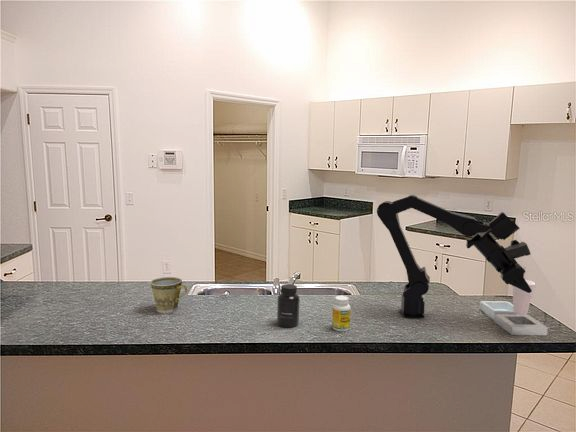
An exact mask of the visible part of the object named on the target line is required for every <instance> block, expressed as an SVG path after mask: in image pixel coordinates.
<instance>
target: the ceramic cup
mask: <svg viewBox="0 0 576 432" xmlns="http://www.w3.org/2000/svg"><path fill="white" fill-rule="evenodd" d="M150 288H151V292H152V295H153V297H154V298H153V299H154V302H155V308H156V312H157V313H159V314H163V315H164V314H172V313H175V312H176V310H177V311H178V307H179V300H180V299H181V298H182V297H183V296H185V294H186V293H187V289H188V287H187V286H186V285H185V284H183V279H182V278H179V277H175V276H164V277H163V276H162V277H157V278H154V279H152V280H150ZM182 288H184V290H185V291H184V293H182V294H181V290H182ZM180 294H181V295H180Z"/></svg>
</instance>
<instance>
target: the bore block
mask: <svg viewBox="0 0 576 432" xmlns="http://www.w3.org/2000/svg"><path fill="white" fill-rule="evenodd" d="M493 322H494V323H495V324H497V325H498V326H499V327H501V328H502V329H503V330H504V331H505V332H507V333H508V334H509V335H511V336H547V335H548V329H549V328H548V326H546V325H545V324H543V323H542V322H540V321H538V320H537V319H536V318H533V317H532V316H531V315H529V314H528V313H527V314H526V315H521V314H495V316H494V320H493Z"/></svg>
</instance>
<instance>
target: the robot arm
mask: <svg viewBox="0 0 576 432" xmlns="http://www.w3.org/2000/svg"><path fill="white" fill-rule="evenodd" d="M410 209H413V210H416V211H418V212H420V213H423V214H426V215H427V216H429V217H432V218H433V219H436V220H438V221H440V222H443V223H445V224H447V225H448V226H450V227H451V228H452V229H454V230H455V231H456V232H458V233H460V234H461V235H462V236H464V237H467V238H466V239H465V240H466V244H465V246H466V249H470V248H471V247H473V246H474V247H475V249H476V250H477V251H479V253H480V254H481V255H482V256H483V257H484V258H485V260H486V261H487V262H488V263H490V264H491V266H492V267H494V269H495V270H496V272H498V273H500V276H499V277H500V279H502V281H503V282H504V283H505V284H506V285H511V286H515V287H517V288H519V289H521V290H523V291H525V292H527V293H530V292H532V290H531V288H530V287H529V285H528V284H527V282H526V280H527V279H526V278H525V279H524V277H523V276H524V273H525V274H526V270H524V267H523V266H522V265H520V264H519V263H518V261H517V260H516V259H518V258H521V257H522V258H523V257H525V256H526V257H528V256H530V255H531V254H532V253H531V251H530V248H529V246H528V244H527V243H526V242H524V241H520V242H519V241H518V240H517V239H514V240H511V241H510V245H508V246H507V247H504V246H503V245H500V243H498V241H500V240H503V241H505V240H506V239H508V238H509V237H511V236H512V235H513V234H514V233H516V232H517V231H519V230H520V229H521V228H520V227H519V226H518V225H517V223H515V221H514V220H512V219H511V218H510V217H508V215H507V214H506V213H505V212H503V211H502V212H500V213H499V214H498V215H497V216H496V217H495V218H493V219H492V220H491V221H489V222H485V221H481V220H477V219H476V218H475V217H473V216H471V215H467V214H463V213H459V212H454V211H451V210H448V209H446V208H443V207H441V206H439V205H437V204H434V203H433V202H429V201H427V200H425V199H422V198H421V197H419V196H417V195H415V194H410V195H408V196H405V197H403V198H399V199H398V200H397V199H396V200H394V201H390V200H385V201H383V202H381V203H380V204H379V205H378V207H377V209H376V214H377V217H378V218H379V219H380V222H381V223H382V224H383V225H384V226H385V228H386V229H387V230H388V232H389V234H390V236H391V238H392V241H393V243H394V245H395V248H396V250H397V252H398V255H399V257H400V259H401V261H402V263H403V265H404V268H405V271H406V275H407V281H408V283H407V284H405V285H404V287H403V291H402V294H401V305H400V306H401V308H400V309H399V312H400V314H402V316H403V317H404V318H410V319H411V318H413V319H415V318H420V319H421V318H422V319H423V318H425V315H424V314H425V305H426V304H425V303H426V302H425V301H424V297H423V296H424V295H426V294H427V293H428V292H429V289H430V288H429V287H430V282H431V281H430V279H431V278H430V276H429V275H428V273H427V270H426V266H423V267H420V265H419V264H418V262H417V260H416V258H415V255H414V254H413V252H412V249H411V247H410V245H409V243H408V241H407V238H406V236H405V234H404V233H405V232H404V231H403V228H402V226H401V224H400V217H399V213H402V212H405V211H407V210H410ZM490 233H491V234H492V235H493V236H494V237H493V236H492V235H491V234H490ZM470 237H471V238H470ZM495 238H496V239H497V240H498V241H497V240H496V239H495Z"/></svg>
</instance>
